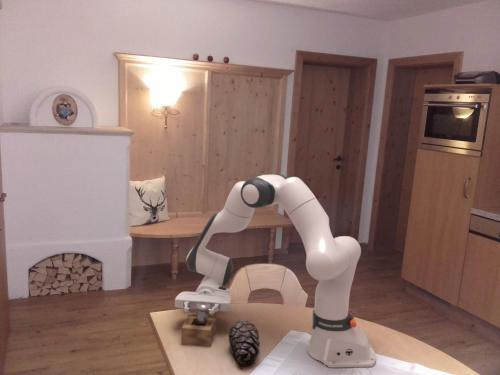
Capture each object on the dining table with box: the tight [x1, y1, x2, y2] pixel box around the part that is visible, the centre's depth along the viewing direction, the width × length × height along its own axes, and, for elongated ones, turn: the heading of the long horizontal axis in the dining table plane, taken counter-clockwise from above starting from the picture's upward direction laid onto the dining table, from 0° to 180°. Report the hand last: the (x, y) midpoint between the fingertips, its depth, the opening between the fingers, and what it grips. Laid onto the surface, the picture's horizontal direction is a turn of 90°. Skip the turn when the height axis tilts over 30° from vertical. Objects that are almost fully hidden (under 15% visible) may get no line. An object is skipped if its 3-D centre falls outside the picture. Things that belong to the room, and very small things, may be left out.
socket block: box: [181, 314, 217, 347], centre depth 158 cm, size 10×10×6 cm
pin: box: [195, 302, 210, 326], centre depth 157 cm, size 5×5×10 cm
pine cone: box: [228, 320, 261, 370], centre depth 147 cm, size 10×18×10 cm, turn 14°
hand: (198, 311), depth 155 cm, fingers open, 7 cm apart
